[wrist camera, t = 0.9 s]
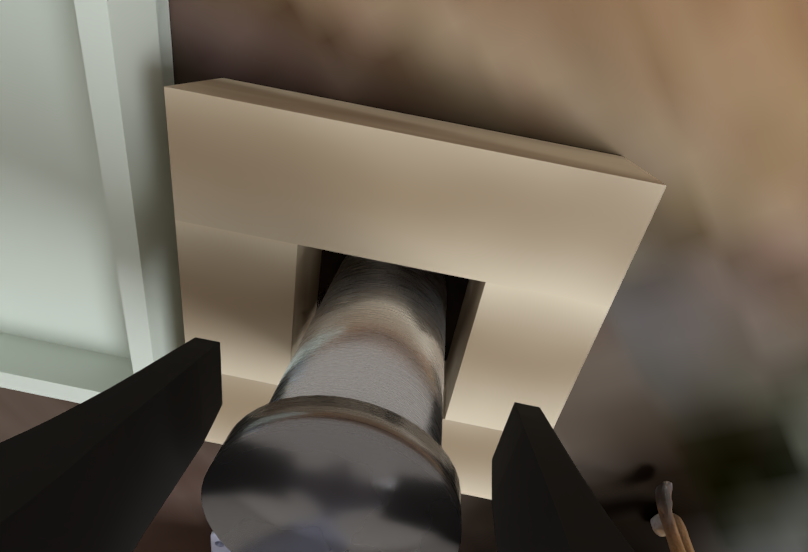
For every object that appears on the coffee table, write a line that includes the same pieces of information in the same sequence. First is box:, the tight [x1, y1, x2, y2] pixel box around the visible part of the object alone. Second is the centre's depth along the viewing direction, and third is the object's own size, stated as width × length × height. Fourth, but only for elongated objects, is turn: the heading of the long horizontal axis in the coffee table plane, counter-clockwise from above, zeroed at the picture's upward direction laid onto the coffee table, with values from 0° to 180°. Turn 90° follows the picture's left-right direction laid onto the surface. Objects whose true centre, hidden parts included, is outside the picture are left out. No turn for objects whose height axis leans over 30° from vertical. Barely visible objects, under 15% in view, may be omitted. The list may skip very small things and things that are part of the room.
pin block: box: [164, 78, 667, 500], centre depth 15 cm, size 12×12×3 cm
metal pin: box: [201, 255, 461, 552], centre depth 12 cm, size 5×5×9 cm
